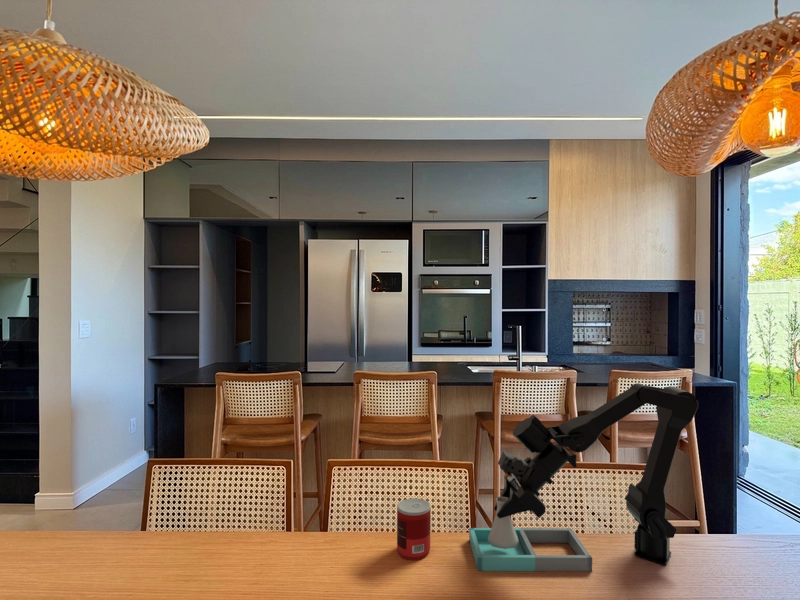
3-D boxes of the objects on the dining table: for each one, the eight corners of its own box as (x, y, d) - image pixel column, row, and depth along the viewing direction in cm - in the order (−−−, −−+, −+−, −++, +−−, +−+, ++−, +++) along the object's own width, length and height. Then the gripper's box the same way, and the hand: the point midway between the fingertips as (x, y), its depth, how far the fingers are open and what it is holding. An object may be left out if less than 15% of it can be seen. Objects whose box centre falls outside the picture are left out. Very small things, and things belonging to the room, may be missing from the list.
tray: (571, 540, 118) (571, 528, 118) (592, 571, 105) (592, 557, 105) (469, 540, 118) (469, 527, 118) (477, 570, 105) (478, 557, 105)
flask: (516, 534, 115) (516, 493, 115) (521, 551, 108) (521, 506, 108) (486, 533, 116) (485, 492, 116) (488, 549, 109) (488, 505, 108)
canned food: (436, 548, 115) (436, 502, 114) (419, 564, 108) (419, 515, 108) (408, 539, 119) (408, 495, 118) (390, 554, 112) (390, 507, 112)
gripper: (510, 429, 121) (466, 473, 121) (530, 455, 102) (478, 507, 102) (541, 460, 121) (497, 504, 121) (567, 492, 102) (515, 543, 102)
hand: (496, 513), depth 112 cm, fingers closed on flask, 3 cm apart
